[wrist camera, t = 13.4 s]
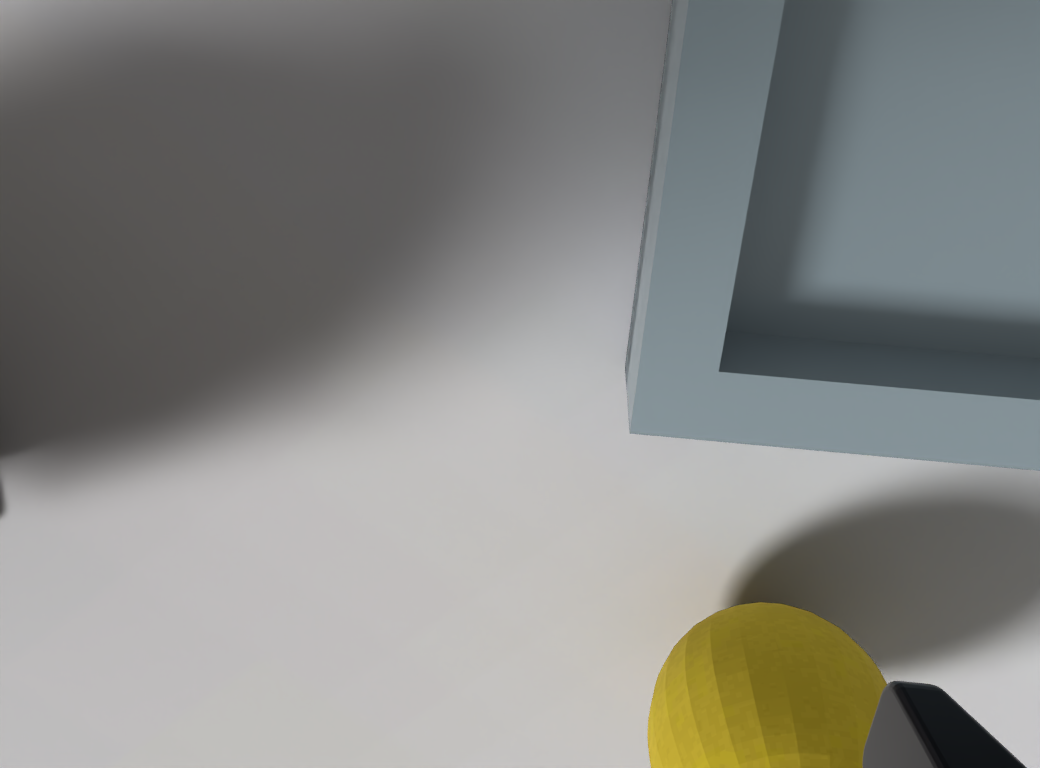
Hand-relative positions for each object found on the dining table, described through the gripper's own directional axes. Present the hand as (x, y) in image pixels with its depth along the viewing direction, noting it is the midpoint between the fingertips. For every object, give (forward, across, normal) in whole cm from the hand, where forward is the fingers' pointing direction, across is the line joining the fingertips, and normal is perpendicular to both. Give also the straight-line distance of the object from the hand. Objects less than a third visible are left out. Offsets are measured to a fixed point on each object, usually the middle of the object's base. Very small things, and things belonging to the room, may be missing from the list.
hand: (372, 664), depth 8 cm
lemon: (+13, -7, +10) cm, 18 cm away
